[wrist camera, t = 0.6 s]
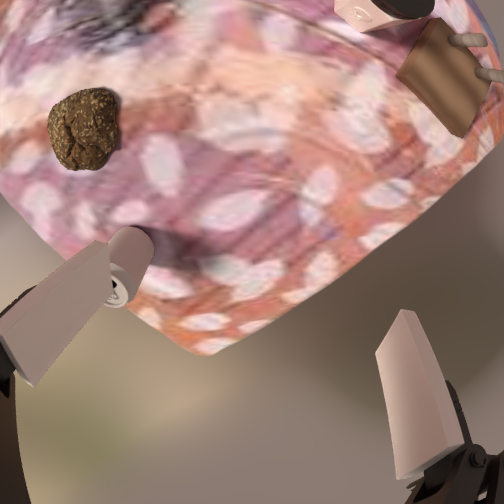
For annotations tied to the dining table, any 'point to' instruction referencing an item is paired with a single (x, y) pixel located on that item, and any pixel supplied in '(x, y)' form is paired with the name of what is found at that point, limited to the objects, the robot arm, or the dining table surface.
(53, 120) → the bread roll
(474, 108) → the peg stand
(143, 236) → the can
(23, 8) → the dining table surface
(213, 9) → the dining table surface
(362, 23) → the jar
